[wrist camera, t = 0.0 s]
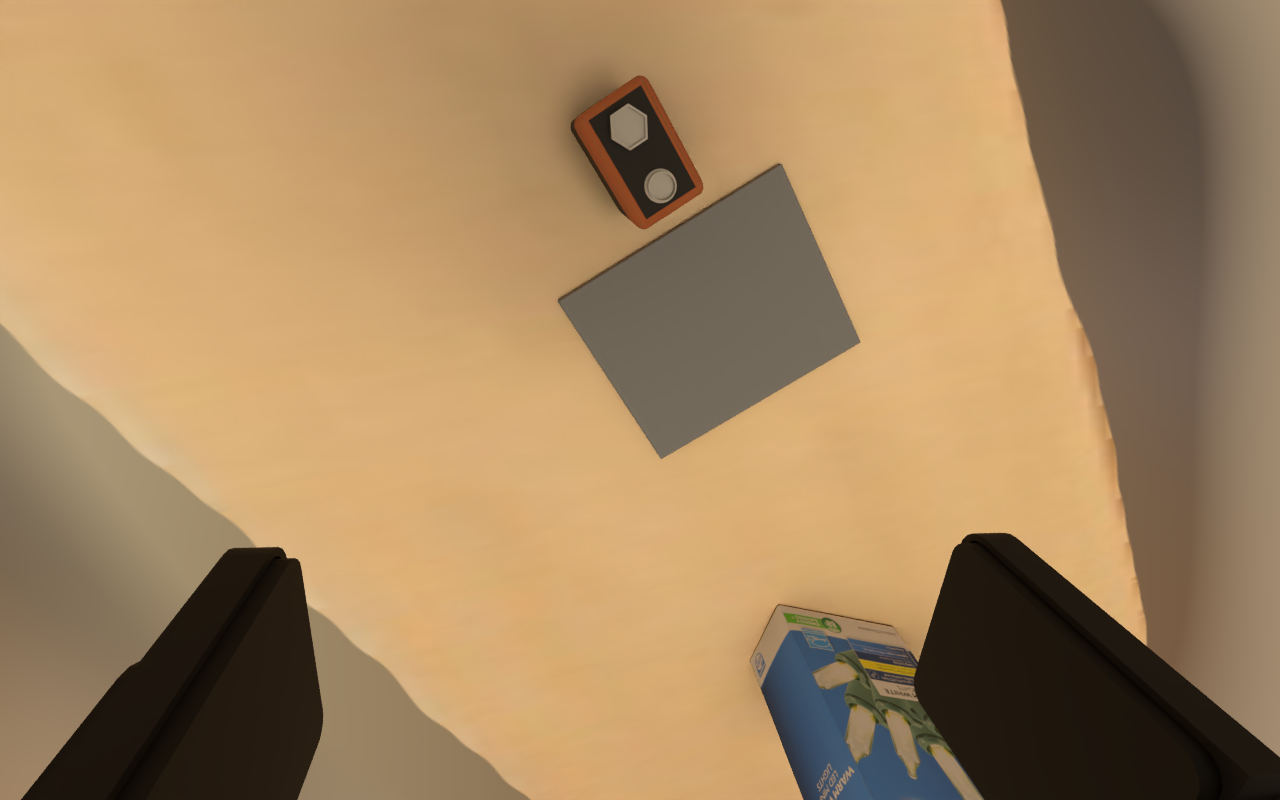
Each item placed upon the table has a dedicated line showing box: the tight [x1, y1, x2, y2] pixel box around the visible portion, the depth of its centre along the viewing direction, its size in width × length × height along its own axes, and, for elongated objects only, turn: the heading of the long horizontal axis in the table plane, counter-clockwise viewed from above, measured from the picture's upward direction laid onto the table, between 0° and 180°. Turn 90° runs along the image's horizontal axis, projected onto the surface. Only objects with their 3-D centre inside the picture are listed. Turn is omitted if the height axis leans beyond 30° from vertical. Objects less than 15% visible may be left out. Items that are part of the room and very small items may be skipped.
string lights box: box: [750, 605, 984, 800], centre depth 49 cm, size 13×8×26 cm, turn 72°
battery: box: [571, 76, 703, 229], centre depth 37 cm, size 4×7×10 cm, turn 32°
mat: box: [558, 164, 860, 459], centre depth 46 cm, size 15×18×1 cm
